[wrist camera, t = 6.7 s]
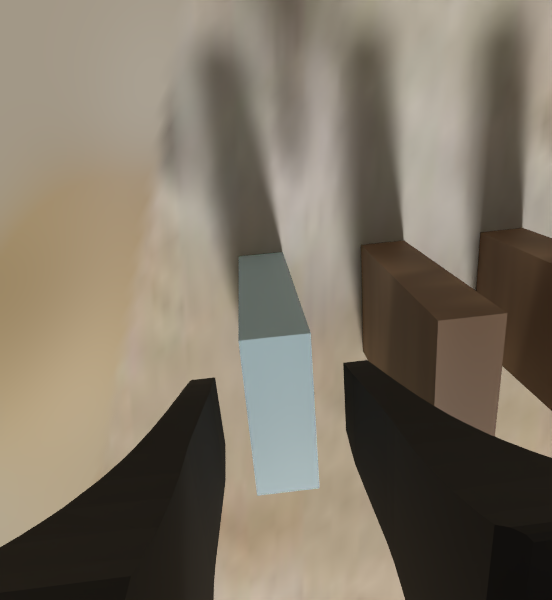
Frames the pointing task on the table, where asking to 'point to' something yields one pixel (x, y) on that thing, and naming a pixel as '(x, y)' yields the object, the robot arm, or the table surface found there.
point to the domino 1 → (432, 332)
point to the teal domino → (277, 376)
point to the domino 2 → (521, 302)
